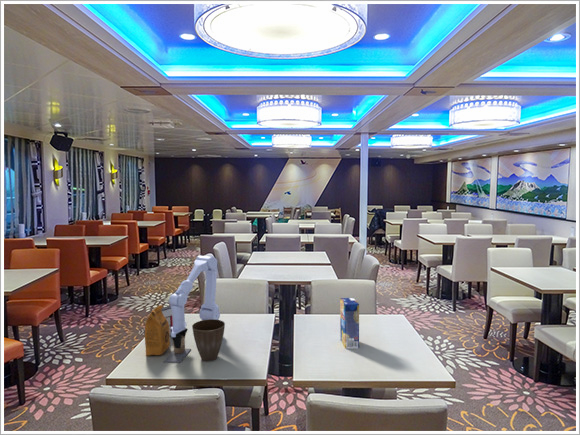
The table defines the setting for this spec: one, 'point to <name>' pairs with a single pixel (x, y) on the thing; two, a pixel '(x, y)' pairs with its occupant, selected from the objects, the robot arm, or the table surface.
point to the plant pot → (208, 338)
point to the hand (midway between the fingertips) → (179, 346)
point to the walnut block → (182, 347)
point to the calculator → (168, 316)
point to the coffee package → (156, 333)
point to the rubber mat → (176, 356)
